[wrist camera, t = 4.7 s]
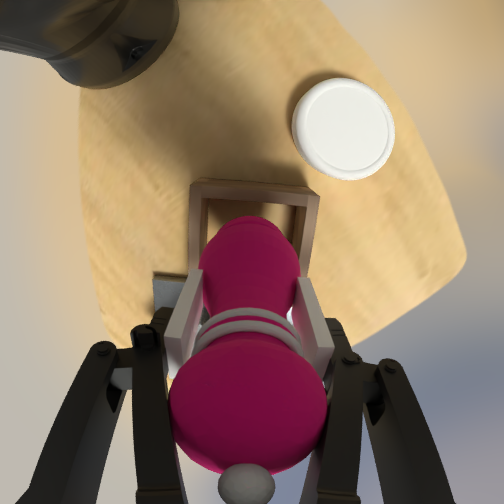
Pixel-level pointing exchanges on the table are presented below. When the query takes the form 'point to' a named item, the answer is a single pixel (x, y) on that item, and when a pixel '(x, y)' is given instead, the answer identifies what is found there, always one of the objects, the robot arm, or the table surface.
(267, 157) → the table surface
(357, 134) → the coaster
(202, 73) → the table surface
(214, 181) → the wooden square frame
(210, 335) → the pepper mill
